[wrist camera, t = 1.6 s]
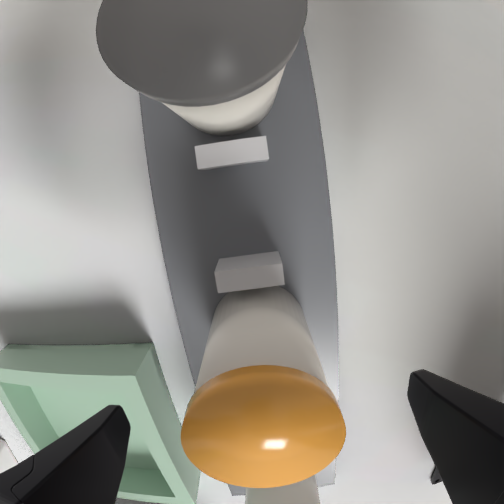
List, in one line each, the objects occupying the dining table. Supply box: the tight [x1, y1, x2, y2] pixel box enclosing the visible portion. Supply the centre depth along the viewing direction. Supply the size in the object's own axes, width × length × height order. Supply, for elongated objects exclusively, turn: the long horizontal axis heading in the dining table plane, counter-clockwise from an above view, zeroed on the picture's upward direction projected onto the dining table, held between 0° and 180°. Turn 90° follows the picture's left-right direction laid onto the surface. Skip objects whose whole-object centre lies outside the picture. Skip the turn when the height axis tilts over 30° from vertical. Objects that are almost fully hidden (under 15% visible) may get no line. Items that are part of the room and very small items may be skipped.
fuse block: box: [96, 0, 339, 504], centre depth 11 cm, size 27×7×8 cm, turn 8°
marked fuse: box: [181, 286, 346, 488], centre depth 10 cm, size 4×4×7 cm
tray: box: [0, 343, 200, 504], centre depth 15 cm, size 11×11×3 cm
